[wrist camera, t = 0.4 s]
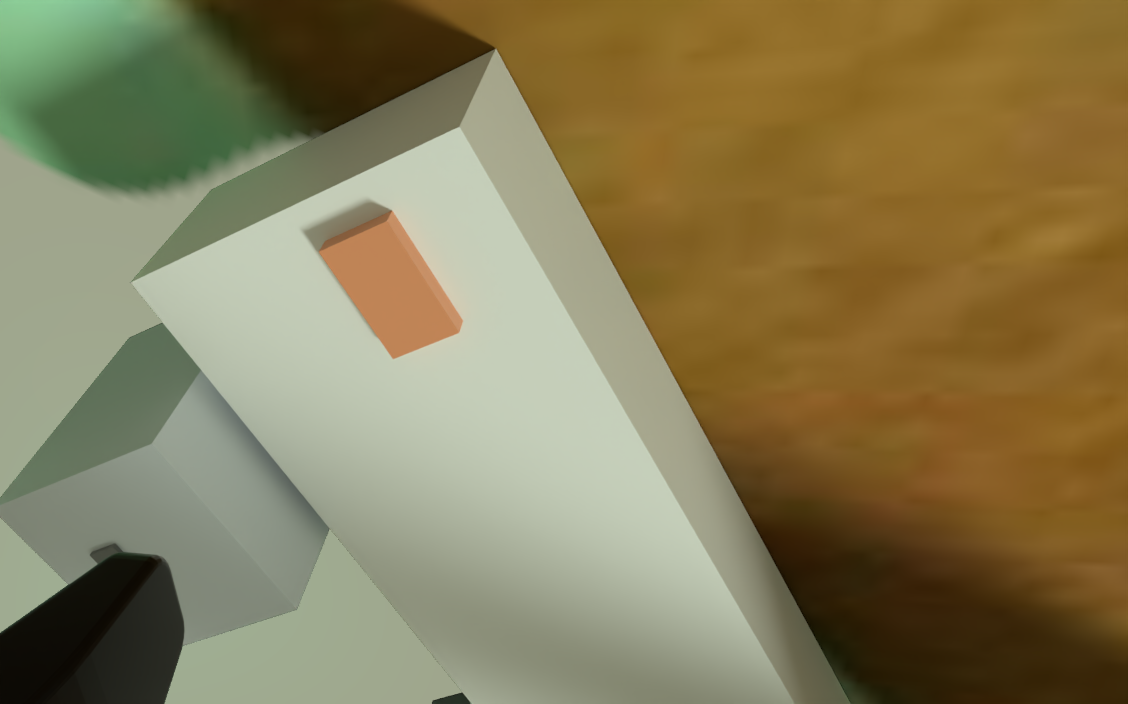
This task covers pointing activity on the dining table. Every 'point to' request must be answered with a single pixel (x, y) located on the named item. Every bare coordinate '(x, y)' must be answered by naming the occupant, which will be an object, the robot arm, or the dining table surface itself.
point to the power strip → (483, 410)
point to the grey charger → (169, 492)
